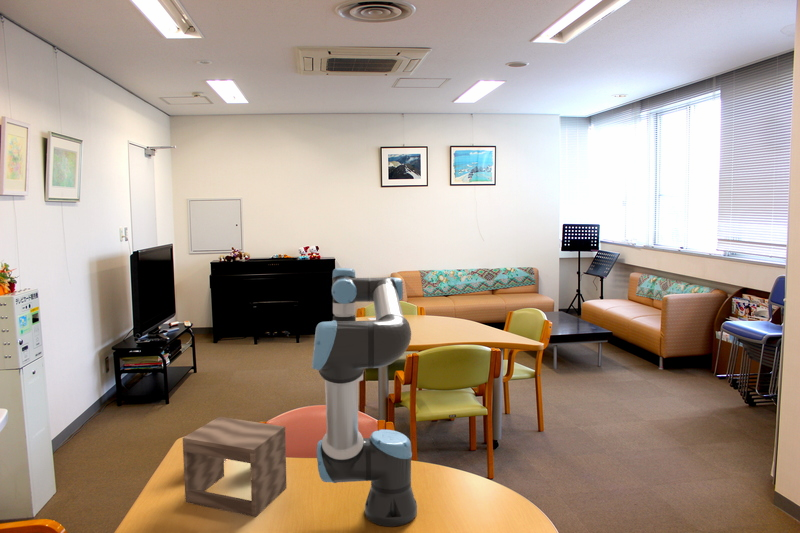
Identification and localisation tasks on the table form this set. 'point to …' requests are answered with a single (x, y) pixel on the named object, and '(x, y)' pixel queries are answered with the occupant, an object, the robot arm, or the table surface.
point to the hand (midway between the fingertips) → (344, 377)
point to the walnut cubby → (238, 444)
